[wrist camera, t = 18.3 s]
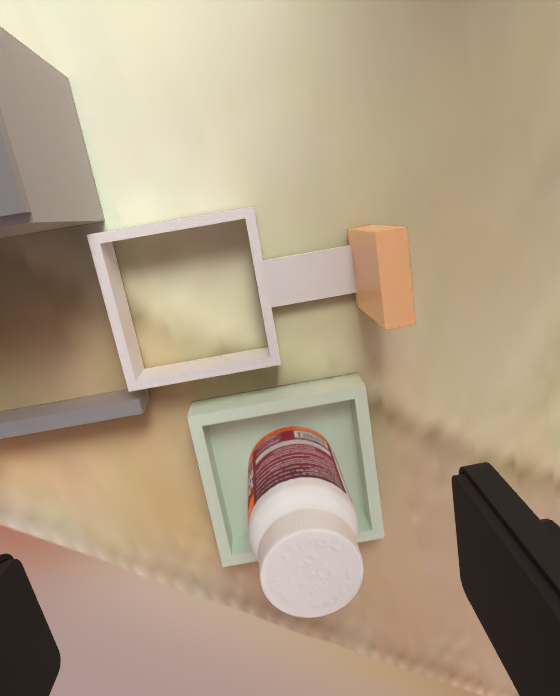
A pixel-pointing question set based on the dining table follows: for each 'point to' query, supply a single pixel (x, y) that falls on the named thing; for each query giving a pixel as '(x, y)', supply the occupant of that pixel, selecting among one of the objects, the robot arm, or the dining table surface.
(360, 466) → the tray
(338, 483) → the pill bottle
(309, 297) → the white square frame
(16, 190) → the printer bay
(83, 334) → the dining table surface
